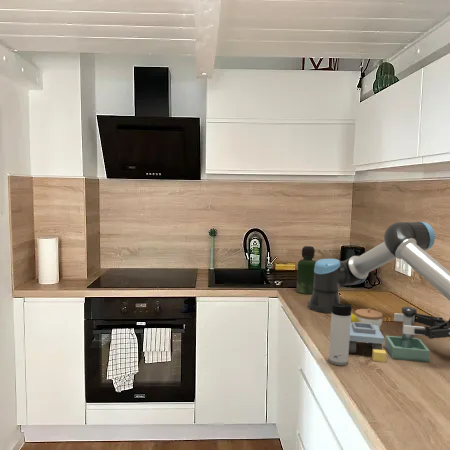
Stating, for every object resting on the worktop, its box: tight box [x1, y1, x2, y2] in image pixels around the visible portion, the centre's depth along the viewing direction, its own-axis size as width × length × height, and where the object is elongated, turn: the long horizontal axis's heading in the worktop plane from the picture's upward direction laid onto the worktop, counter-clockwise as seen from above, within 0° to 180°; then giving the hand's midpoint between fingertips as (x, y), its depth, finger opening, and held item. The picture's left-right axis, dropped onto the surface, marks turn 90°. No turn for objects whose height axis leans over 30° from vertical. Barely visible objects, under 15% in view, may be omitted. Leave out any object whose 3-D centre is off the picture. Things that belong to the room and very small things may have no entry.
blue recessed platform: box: [349, 322, 385, 354], centre depth 154 cm, size 14×12×8 cm
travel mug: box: [328, 303, 353, 367], centre depth 141 cm, size 6×7×20 cm
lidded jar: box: [354, 308, 384, 329], centre depth 173 cm, size 11×11×9 cm
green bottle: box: [295, 245, 317, 295], centre depth 232 cm, size 10×10×25 cm
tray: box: [384, 335, 431, 363], centre depth 151 cm, size 12×12×4 cm
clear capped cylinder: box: [401, 306, 418, 348], centre depth 150 cm, size 5×5×16 cm
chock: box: [371, 348, 388, 363], centre depth 145 cm, size 3×4×3 cm
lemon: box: [351, 312, 357, 323], centre depth 171 cm, size 6×6×8 cm
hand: (398, 322), depth 151 cm, fingers open, 13 cm apart
